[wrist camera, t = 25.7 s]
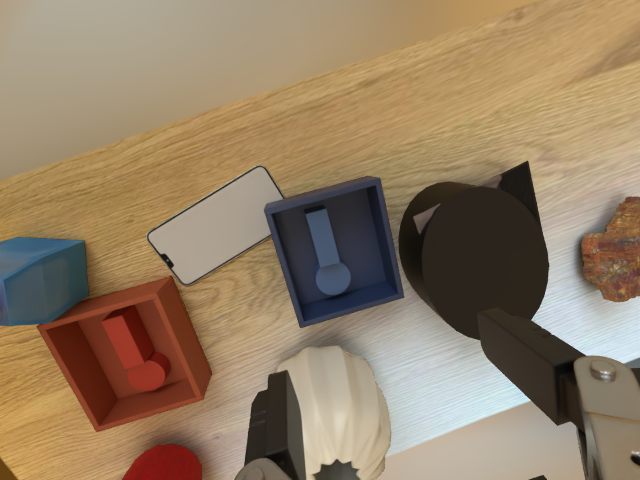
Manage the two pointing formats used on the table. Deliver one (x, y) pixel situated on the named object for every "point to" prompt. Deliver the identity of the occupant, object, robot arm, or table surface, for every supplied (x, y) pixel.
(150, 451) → the apple
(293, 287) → the navy bin
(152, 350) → the red spoon
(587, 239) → the mineral specimen
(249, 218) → the smartphone
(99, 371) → the terracotta bin
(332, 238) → the blue spoon
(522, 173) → the black oval cylinder
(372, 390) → the vase
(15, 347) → the table surface
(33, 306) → the perfume bottle
